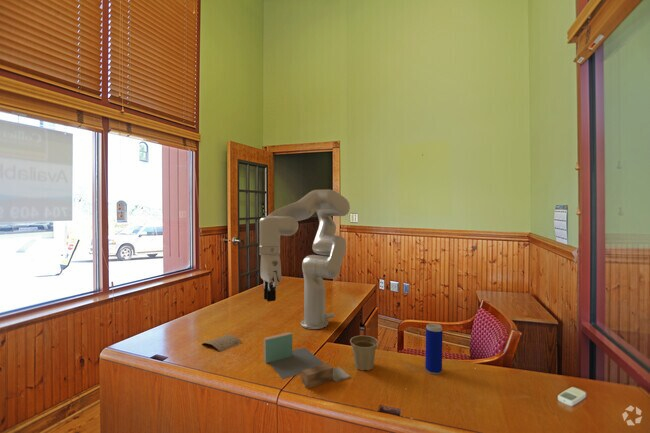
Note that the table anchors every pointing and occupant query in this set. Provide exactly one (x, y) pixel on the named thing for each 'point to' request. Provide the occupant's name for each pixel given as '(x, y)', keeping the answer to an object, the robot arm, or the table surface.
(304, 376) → the brown piece
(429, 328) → the beverage can
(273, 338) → the tile
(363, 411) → the table surface
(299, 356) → the mat
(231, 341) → the clay tablet
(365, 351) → the flower pot
